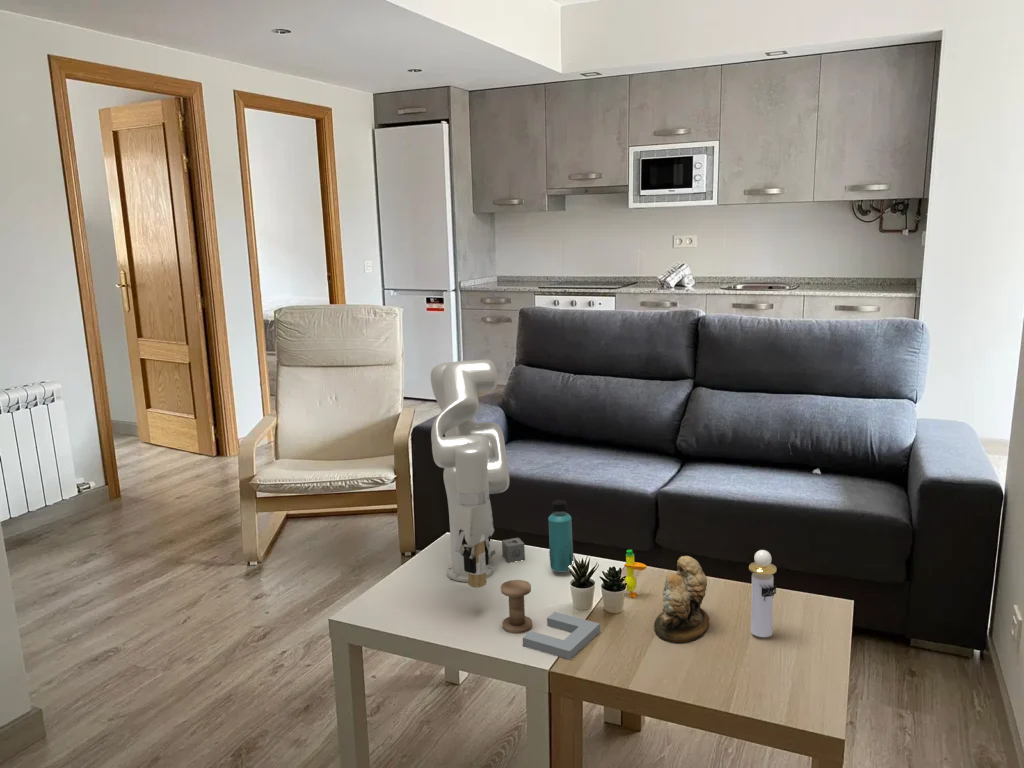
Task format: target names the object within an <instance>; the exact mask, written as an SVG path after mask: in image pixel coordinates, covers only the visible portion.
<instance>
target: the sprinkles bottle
mask: <svg viewBox="0 0 1024 768" xmlns="http://www.w3.org/2000/svg"><path fill="white" fill-rule="evenodd" d="M484 541H485V537H484V535H482V536H481V539H480V543H478V544H476V545H475V549H474V557H475V558H476V573H475V574H473V573H469V572H468V582H467V583H468V586H469V587H471V588H482V587H484V586H486V585H487V583H488V582H487V578H486V561H485V545H484ZM467 550H468V551H469V552H470V548H469V547H467Z"/></svg>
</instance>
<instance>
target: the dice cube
mask: <svg viewBox="0 0 1024 768" xmlns="http://www.w3.org/2000/svg"><path fill="white" fill-rule="evenodd" d="M525 550H526V549H525V543H524V542H523V540H521V538H520V537H515V538H514V537H513V538H509V539H502V540H501V552H502V555H501V556H502V558H503V557H504V558H505V559H506V560H505V559H504V558H503V559H504V560H505V561H506V562H507V563H508V564H511V562H512V563H516V562H515V561H518V562H522V561H521V560H523V561H526V552H525Z"/></svg>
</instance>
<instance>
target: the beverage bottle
mask: <svg viewBox="0 0 1024 768" xmlns="http://www.w3.org/2000/svg"><path fill="white" fill-rule="evenodd" d="M567 510H568V506H567V501H566V500H562V499H555V500H553V501H551V511H553V512H552V513H551V514H550V515H549V516H548V518H547V519H548V536H549V538H548V545H549V547H548V548H549V550H548V552H549V554H548V555H549V564H550V565H549V567H550V569H551V570H552V571H555V572H558V573H562V572H563V573H564V572H569V571H568V566H569V565H571V564H572V561H574V557H575V556H574V548H573V547H574V543H573V542H574V541H573V537H574V536H573V527H572V526H573V525H572V516H571V514H569V513H567V512H566V511H567Z"/></svg>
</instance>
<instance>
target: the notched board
mask: <svg viewBox="0 0 1024 768" xmlns="http://www.w3.org/2000/svg"><path fill="white" fill-rule="evenodd" d="M546 623H547V624H546V626H547V627H550V628H553V629H557V630H561V631H565V632H568V633H570V634H569V635H568V636H567V637H565V638H564V639H562V638H558V637H554V636H551V635H547V634H544V633H540V632H537V631H533V630H529V631H528V633H526V634H525V635H524V636H523V637H522V646H523V647H525V648H529V649H532V650H535V651H539V652H541V653H545V654H549V655H553V656H556V657H559V658H563V659H566V660H569V661H570V660H572V659H573V658H574V657H575V656H576V655H577V654H578V653H579V652H580V651H581V650H582V649H583V648H584V647H586V646H587V645H588V644H589V643H590V642H591V641H592V640H594V638H595V637H596V636H597V635H599V633H600V632H601V623H600V622H595V621H591V620H587V619H584V618H580V617H576V616H573V615H568V614H564V613H560V612H556V611H554V612H553V613H551V614H550V615H549V616H548V617H547V618H546ZM572 657H573V658H572Z"/></svg>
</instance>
